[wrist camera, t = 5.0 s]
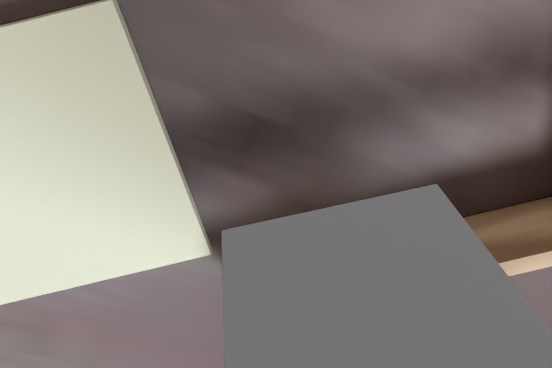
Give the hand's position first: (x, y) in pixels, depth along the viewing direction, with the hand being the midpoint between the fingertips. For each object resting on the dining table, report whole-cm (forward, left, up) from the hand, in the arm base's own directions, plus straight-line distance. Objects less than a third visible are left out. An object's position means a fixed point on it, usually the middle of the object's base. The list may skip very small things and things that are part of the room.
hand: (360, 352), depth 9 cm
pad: (0, +11, -12) cm, 16 cm away
